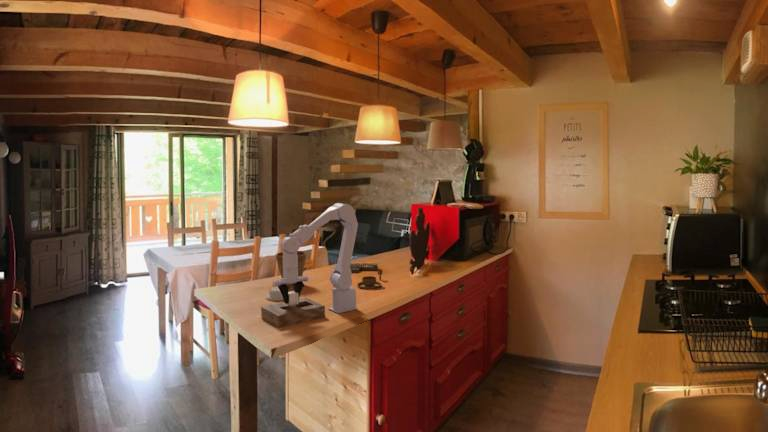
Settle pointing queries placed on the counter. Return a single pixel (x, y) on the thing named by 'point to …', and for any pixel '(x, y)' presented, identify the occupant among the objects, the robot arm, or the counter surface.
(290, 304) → the keyed peg
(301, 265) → the plant pot
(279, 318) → the keyhole plate
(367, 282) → the place setting
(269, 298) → the mechanical component
